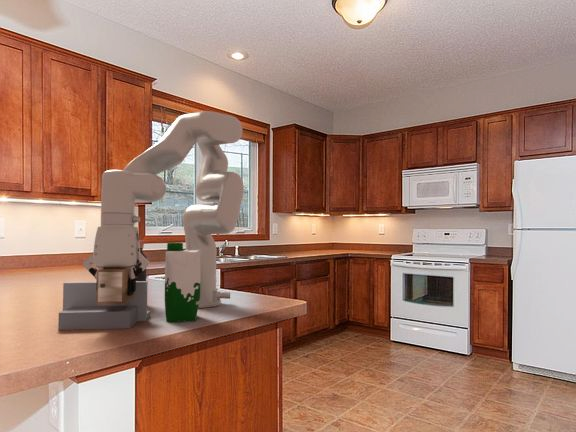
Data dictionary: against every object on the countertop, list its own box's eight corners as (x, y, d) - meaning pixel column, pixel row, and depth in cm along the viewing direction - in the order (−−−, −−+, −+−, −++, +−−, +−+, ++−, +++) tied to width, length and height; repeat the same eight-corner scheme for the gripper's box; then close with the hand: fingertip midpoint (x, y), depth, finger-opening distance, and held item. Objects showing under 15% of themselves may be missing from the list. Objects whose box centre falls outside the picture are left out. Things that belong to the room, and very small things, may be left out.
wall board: (150, 316, 106) (150, 279, 106) (138, 328, 93) (139, 285, 93) (71, 318, 103) (72, 280, 103) (49, 330, 91) (50, 287, 91)
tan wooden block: (133, 297, 100) (134, 266, 100) (122, 305, 90) (123, 270, 90) (109, 298, 99) (109, 266, 99) (95, 305, 89) (96, 270, 90)
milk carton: (167, 315, 107) (168, 242, 107) (200, 314, 108) (201, 242, 109) (162, 323, 98) (163, 243, 99) (198, 322, 99) (199, 243, 100)
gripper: (157, 221, 100) (155, 292, 100) (86, 221, 98) (84, 293, 98) (150, 221, 93) (149, 297, 92) (74, 220, 91) (72, 298, 90)
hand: (116, 294), depth 95 cm, fingers closed on tan wooden block, 6 cm apart
